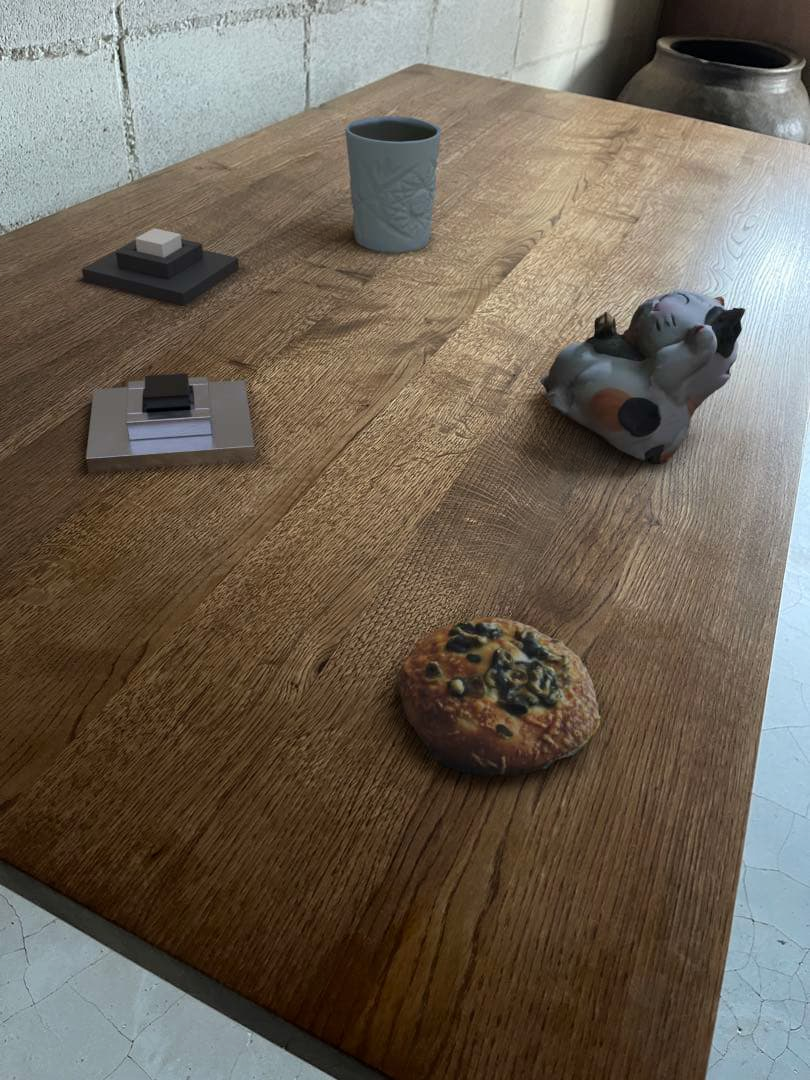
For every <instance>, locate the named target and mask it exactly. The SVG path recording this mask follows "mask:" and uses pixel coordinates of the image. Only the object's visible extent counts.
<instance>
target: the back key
mask: <svg viewBox="0 0 810 1080" xmlns="http://www.w3.org/2000/svg"><path fill="white" fill-rule="evenodd" d="M181 236H182V235H181V233H177V232H173V231H168V230H164V229H160V228H155V227H154V228H151V229H150V230H148V231H146V232H145V233H142V234H141V235H139V236H136V237H135V239H134V240H136V247H137V251H138V252H142V253H146V254H151V255H155V256H159V257H164V258H165V257H166V256H168V255H170V254H171V253H173V252H175V251H176V250H178V249H180V248H182V244H181V239H182V237H181Z"/></svg>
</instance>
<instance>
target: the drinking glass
mask: <svg viewBox="0 0 810 1080" xmlns="http://www.w3.org/2000/svg"><path fill="white" fill-rule="evenodd" d="M441 135H442V130H441V128H440V127H439V126H438V125H437V124H435V123H433V122H431V121H428V120H424V119H421V118H417V117H416V118H415V117H410V116H400V115H399V116H397V115H383V116H382V115H381V116H370V117H364V118H360V119H356V120H353V121H351V122H349V123H348V124H347V125H346V126H345V139H346V150H347V157H348V169H349V177H350V180H349V187H350V200H351V204H352V205H351V206H352V210H353V214H352V221H353V222H352V223H353V234H354V235H353V236H354V239H355V241H356V243H357V244H358V245H360V246H362V247H363V248H366V249H368V250H372V251H375V252H381V253H389V254H396V253H397V254H398V253H399V254H400V253H408V252H409V253H410V252H417V251H419V250H422V249H424V248H425V247H426V246H427V245H428V244H429V242H430V237H431V231H432V220H433V219H432V216H433V207H434V201H435V192H436V191H435V190H436V179H437V174H436V170H437V168H438V159H439V151H440V145H441V144H440V143H441Z"/></svg>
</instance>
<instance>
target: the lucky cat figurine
mask: <svg viewBox="0 0 810 1080" xmlns="http://www.w3.org/2000/svg"><path fill="white" fill-rule="evenodd" d="M725 303H726V302H725V299H724V298H723V297H722V296H716V297H710V296H709V295H707V294H706V293H701V292H699V291H689V290H685V289H682V288H679V289H676V290H675V289H674V290H673V291H672V292H671V291H669V292H667V293H665V294H661V295H657V296H653V297H652V298H648V299H646V300H645V301H643V302H642V303H641V304H640V305H639V306H638V307H637V309H636V310H635V311H634V312H633V315H632V317H631V319H630V323H629V326H628V328H627V329H625V330H624V331H623V333H622V334H621V333H619V332H617V331H618V329H617V322H616V318H615V316H614V315H613V314H610V313H609V312H608V311H604V312H603V313H602V314H600V316H598V317H596V318H595V319H594V322H593V323H594V326H593V328H594V333H593V335H592V336H590V337H587V338H586V340H585V341H581V342H573V343H571V344H569V345H568V346H567V347H565V348H564V349H563V350H561V351H560V352H559V353H558V355H557V356H555V357H556V358H555V359H554V361H553V363H552V364H551V366H550V367H549V370H548V375H544V376H542V377H541V378H540V380H539V383H540V384H541V385H542V387H544V389H545V392H546V394H545V396H543V399H545V400H546V401H547V402H548V403H549V404H550V406H551V407H553V408H555V409H556V410H558V411H559V413H561V414H562V415H564V416H566V417H567V418H570V419H571V420H573V421H574V422H576V423H578V424H580V425H582V426H583V427H585V428H586V429H588V430H590V431H591V432H593V433H595V434H597V435H599V436H601V437H602V438H603V439H604V440H605V441H606V442H607V443H609V444H610V445H611V446H612V447H614V448H615V449H617V450H619V451H620V452H622V453H625V454H626V455H628V456H629V455H630V456H631V457H634V458H636V459H638V460H641V461H646V460H648V459H649V460H650V461H651V463H652V464H656V463H658V464H662V463H663V462H665V461H667V460H668V459H670V458H672V457H673V456H674V455H675V454H676V452H677V451H678V450H679V448H680V447H681V445H682V443H683V441H684V439H685V437H686V435H687V432H688V431H689V428H690V426H691V425H690V424H691V419H692V417H693V415H694V414H695V412H696V411H697V409H698V408H699V407H700V406H701V405H702V404H703V403H704V402H705V400H707V399H708V398H709V397H710V396H712V395H713V394H714V393H716V391H718V390H720V389H722V388H723V387H724V386H725V385H726V384H727V383H728V381H729V380H730V378H731V377H732V374H731V367H732V366H733V365H734V364H735V362H736V361H737V358H738V350H739V342H738V338H739V336H740V335H741V333H742V330H743V326H742V319H743V317H744V315H745V313H746V308H744V307H732V309H727V308H725Z"/></svg>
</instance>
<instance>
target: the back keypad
mask: <svg viewBox="0 0 810 1080" xmlns="http://www.w3.org/2000/svg"><path fill="white" fill-rule="evenodd" d="M181 244H182V248H180V249H178V250H176V251H175V252H173V253H171V254H170V255H168V256H166V257H165V258H164V257H159V256H155V255H151V254H146V253H142V252H138V251H137V247H136V240H135V239H134V240H132V241H130V242H129V243H127V244H125V245H122V246H121V247H119V248H118V249H117V248H116V249H115V250H114V251H112V252H110V253H108V254H106V255H104V256H103V257H102V256H101V258H98V259H97V260H95V261H93V262H91V263H89V264H88V265H86V266H84V267H82V268H81V274H82V277H83V282H86V283H90V284H94V285H98V286H103V287H106V288H111V289H114V290H119V291H123V292H127V293H131V294H135V295H138V296H143V297H147V298H152V299H155V300H160V301H163V302H168V303H171V304H176V305H180V306H186V305H188V304H190V303H191V302H193V301H194V300H196V299H197V298H199V297H200V296H202V295H204V294H205V293H206V292H208V291H210V290H211V289H213V288H214V287H215V286H217V285H219V284H220V283H222V282H224V280H225V279H227V278H229V277H230V276H232V275H234V274H235V273H236V272H238V271H239V270H240V268H239V267H240V266H239V265H240V264H239V258H238V257H236V256H232V255H227V254H223V253H219V252H215V251H209V250H205V249H203V244H202V242H197V241H193V240H189V239H184V238H181Z"/></svg>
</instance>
